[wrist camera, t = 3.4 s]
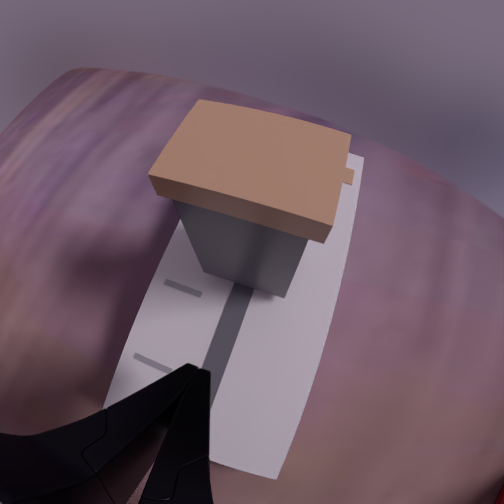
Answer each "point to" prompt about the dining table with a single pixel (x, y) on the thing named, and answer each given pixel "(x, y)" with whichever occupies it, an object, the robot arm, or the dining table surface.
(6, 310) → the dining table surface
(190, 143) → the slider handle
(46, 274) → the dining table surface
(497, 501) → the canned food
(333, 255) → the dimmer panel
